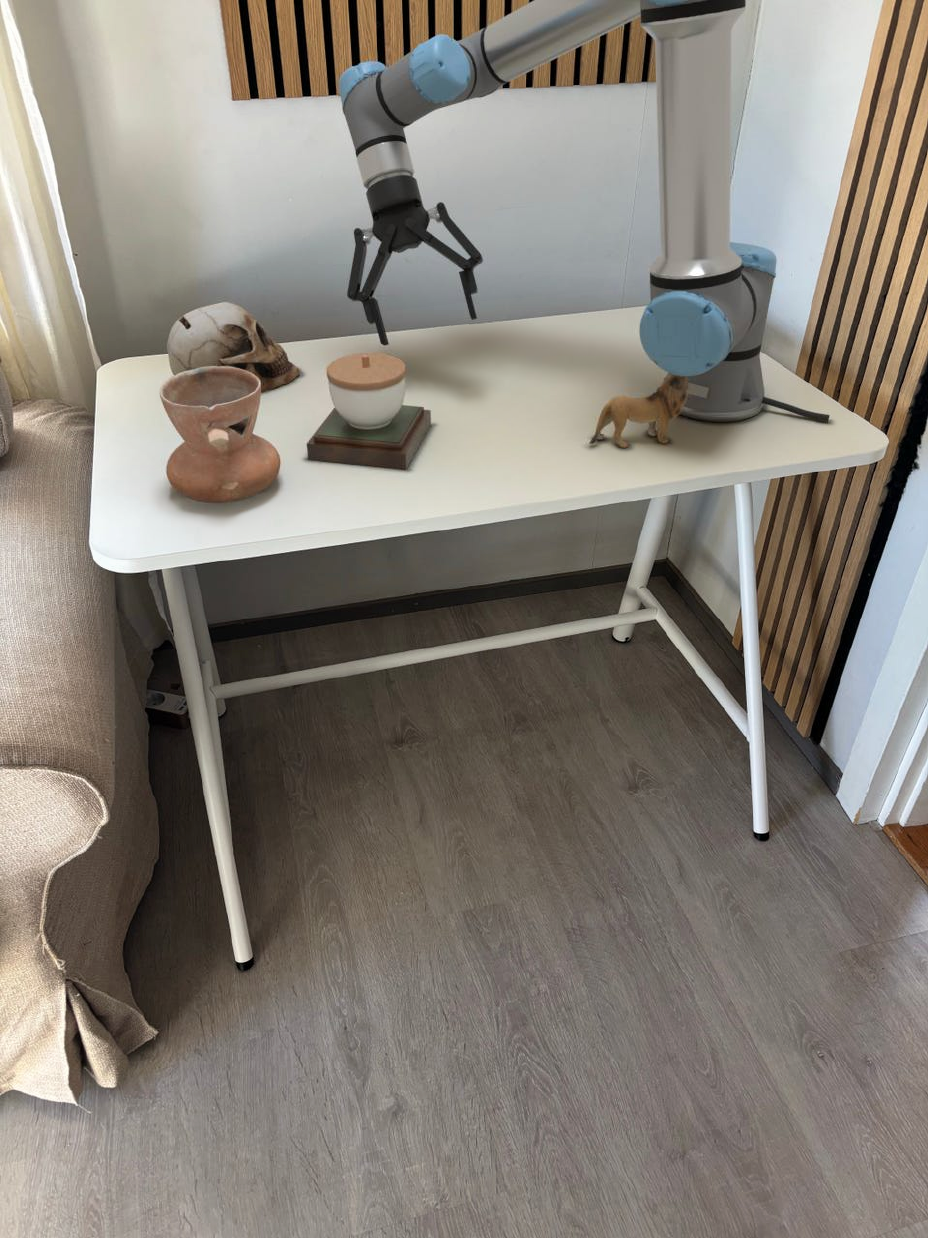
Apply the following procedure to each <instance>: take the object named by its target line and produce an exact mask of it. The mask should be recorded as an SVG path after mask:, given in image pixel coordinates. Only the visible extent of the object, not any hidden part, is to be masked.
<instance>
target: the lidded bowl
mask: <svg viewBox="0 0 928 1238" xmlns="http://www.w3.org/2000/svg"><path fill="white" fill-rule="evenodd" d="M406 374H407V367H406V364H405V362H403V360H401V359H400V358H398V357H396V356H393V355H390V354H385V353H380V352H379V353H378V352H376V353H375V352H362V353H352V354H349V355H344V356H341V357H339V358H336V359H335V360H332V361H331V362H330V363H329V365H327V368H326V377H327V381H328V391H329V395H330V398H331V401H332V404H333V407H334V408H336V410H337V412H338V413H339V414H340V415H341V416H342V417H343V418H344V419H345V420H346V421H348V423H349V424H350V425H351V426H352V427H355V428H358V429H364V430H371V429H378V428H382V427H385V426H387V425H388V424H389V423H390V422H391V420H392V419H393V418H394V417H395V416H396V414H397V413H398V412H399V410H400V409H401V406H402V405H404V404H403V403H404V401H405V395H406Z"/></svg>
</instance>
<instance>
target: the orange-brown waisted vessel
mask: <svg viewBox="0 0 928 1238" xmlns="http://www.w3.org/2000/svg"><path fill="white" fill-rule="evenodd" d="M261 395H262V391H261V382H260V380H259V378H258V377H257V376H255V375H254V374H252V373H251V372H248V371H246V370H242V369H239V368H235V367H229V366H220V367H217V366H207V367H200V368H197V369H193V370H189V371H184V372H181V373H179V374H177V375H175V376H174V375H173V376H171V377H169V378H168V379H166V380H165V381H164V382H163V383H162V384H161V386H160V388H159V397H160V401H161V403H162V406H163V409H164V410H165V412H166V414H167V417H168V418H169V421H170V422H171V424H172V426H173V427H174V429H175V430H176V431H177V433H178V435H179V436H180V437H181V439H182V440H183V442H182V443H180V445H178V447H176V448H175V449H174V450H173V451H172V453H171V454H170V456H169V458H168V459H167V461H166V462H167V463H166V467H165V472H166V477H167V480H168V482H169V483H170V485H171V486H172V488H173V489H174V490H175V491H177V492H178V493H179V494H181V495H182V496H184V497H185V498H188V499H190V500H193V501H196V502H200V503H207V504H225V503H226V504H227V503H234V502H238V501H243V500H245V499H249V498H251V497H254V496H256V495H258V494H260V493H261V492H263V491H265V489H267V488H269V487H270V486H271V485H272V484H273V483H274V482H275V480H276V478H277V477H278V476H279V472H280V469H281V462H282V461H281V457H280V454H279V451H278V450H277V448H276V447H275V446H274V445H273V444H272V443H271V442H270V441H268V440H267V439H265V438H264V437H261V436H259V435H257V434H255V433H253V432H254V429H255V426H256V423H257V419H258V414H259V409H260V405H261Z"/></svg>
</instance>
